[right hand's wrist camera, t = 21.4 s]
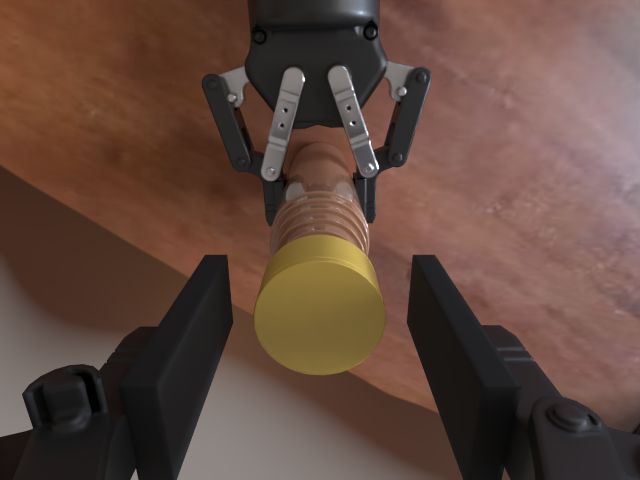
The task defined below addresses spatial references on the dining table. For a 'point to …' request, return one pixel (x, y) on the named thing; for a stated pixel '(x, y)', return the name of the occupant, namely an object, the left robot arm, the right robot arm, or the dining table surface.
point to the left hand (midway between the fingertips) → (321, 228)
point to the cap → (319, 306)
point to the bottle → (319, 200)
